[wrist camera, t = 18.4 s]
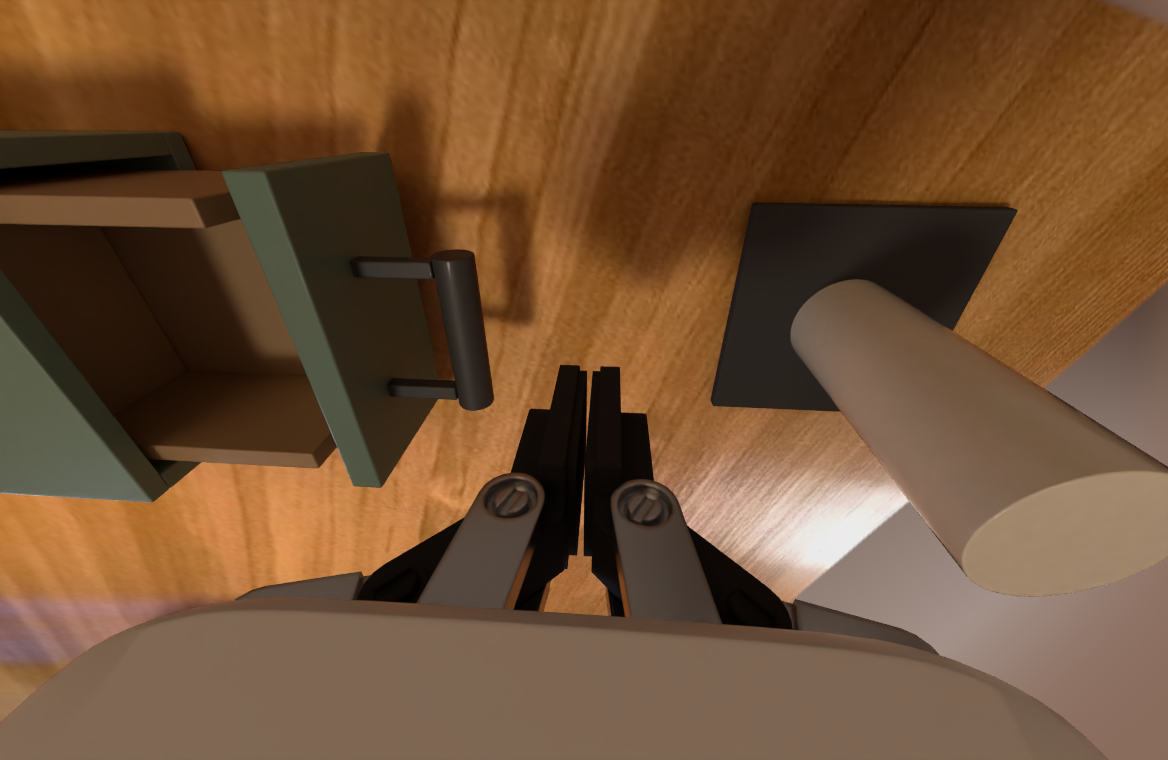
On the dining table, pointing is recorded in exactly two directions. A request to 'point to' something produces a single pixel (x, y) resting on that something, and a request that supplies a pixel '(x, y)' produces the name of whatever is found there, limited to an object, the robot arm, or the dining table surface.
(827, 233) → the mat
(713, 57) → the dining table surface
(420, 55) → the dining table surface
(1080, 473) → the cylinder
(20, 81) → the dining table surface
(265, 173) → the drawer
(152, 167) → the cabinet
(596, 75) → the dining table surface
